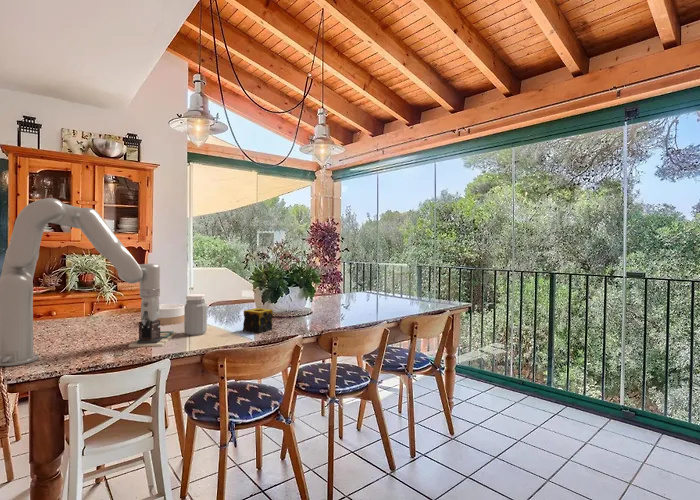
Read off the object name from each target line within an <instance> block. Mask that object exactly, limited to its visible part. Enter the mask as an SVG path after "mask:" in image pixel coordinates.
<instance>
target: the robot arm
mask: <svg viewBox="0 0 700 500" xmlns="http://www.w3.org/2000/svg"><path fill="white" fill-rule="evenodd" d="M50 223H51V224H55V225H60V226H65V227H69V228H73V229H78V230H80V231H81V232H82V233H83V235H84V236H85V237H86V238H87V239H88V241H89V242H90V243H91V245H92V246H93V247H94V249H95V250H96V251H97V252H98V253H99V254H100V255H101V256H102V257H104V258H106V259H107V260H108V261H109V263H110V264H111V265H112V266H113V267H114V268H115V270H116V271H117V276H118V278H119V279H120V280H122V281H124V282H125V283H128V284H136V283H138V282H139V298H141V300H140V301H141V305H140V322H141V321H142V338H150V337H151V328H150V323H151V320H152V321H155V320H157V319H158V318H159V317H160V308H159V305H160V298H159V297H160V296H161V295H160V294H161V283H160V280H161V277H160V276H161V275H160V274H161V273H160V272H161V269H160V267H161V266H160V265H159V264H157V263H142V264H139V263H138V262H137V260H136V259H135V257H134V256H133V255H132V254H131V252H130V251H129V250H128V249H127V248H126V247H125V245H124V244H123V243H122V241H120V239H119V238H118V236H116V234H115V233H114V232H113V230H112V229H111V228H110V226H109V225H108V224H107V222H106V221H105V220H104V218H103V217H102V216H101V215H100V213H99V211H97V210H96V209H94V208H91V207H80V206H74V205H72V204H67V203H63V202H62V201H61V200H60V199H57V198H53V197H47V198H41V199H37V200H35V201H33V202H30V203H28V204H27V205H25V207H24V208H23V209H21V210H20V212H19V214H18V215H17V217H16V219H15V222H14V226H13V229H12V233H11V235H10V236H11V237H10V240H9V244H8V247H7V249H6V252H5V255H4V259H3V265H2V270H1V272H0V273H1V274H0V367H12V366H19V365H25V364H28V363H33V362H35V361H37V360H38V359H39V357H40V356H39V354H38V353H34V307H33V306H34V301H33V300H34V283H33V281H34V275H35V273H36V266H37V262H38V260H39V259H40V258H39V257H40V247H41V242H42V238H43V235H44V231H45V228H46V226H47V225H48V224H50ZM147 322H148V323H147Z"/></svg>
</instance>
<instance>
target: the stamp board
mask: <svg viewBox="0 0 700 500" xmlns="http://www.w3.org/2000/svg"><path fill="white" fill-rule="evenodd" d="M176 335H177V331H174V330H173V331H172V330H171V331H170V330H169V331H166V330H165V331H161V330H160V337H159V338H157V339H154V340H140V339H139V337H138V338H137V339H135V340H134V341H132V342H131V343H129V344H128V348H141V347H142V348H144V347H145V348H146V347H164V346H165V345H166V344H167V343H168V342H169V341H170V340H171V339H172V338H173V337H175V336H176Z"/></svg>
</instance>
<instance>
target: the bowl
mask: <svg viewBox="0 0 700 500" xmlns="http://www.w3.org/2000/svg"><path fill="white" fill-rule="evenodd" d="M185 305H186V304H182V303H164V304H163V303H161V304H160V303H159V308H160V317H159V318H158V319H157V320H160V326H170V325H171V326H172V324H173V325H178V324H182V322H183V323H184V306H185Z"/></svg>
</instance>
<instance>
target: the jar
mask: <svg viewBox="0 0 700 500" xmlns="http://www.w3.org/2000/svg"><path fill="white" fill-rule="evenodd" d="M185 300H186V301H185V304H184V305H185V306H184V322H183V323H184V332H183V333H184V334H186V335H187V336H192V337H193V336H200V335H201V336H202V335H204V334H206V332H207V330H208V329H207V328H208V326H207V324H208V319H207V318H208V316H207V315H208V312H207V311H208V306H207V305H208V304H207V302H206V294H204V293H190V294H186V295H185Z"/></svg>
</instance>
